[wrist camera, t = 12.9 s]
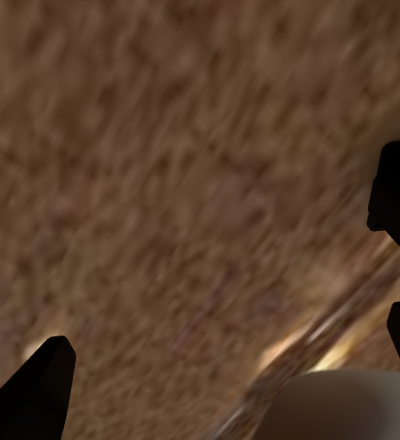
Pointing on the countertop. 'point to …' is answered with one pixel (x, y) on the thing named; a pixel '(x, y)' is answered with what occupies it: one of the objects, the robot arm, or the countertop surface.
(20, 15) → the countertop surface
